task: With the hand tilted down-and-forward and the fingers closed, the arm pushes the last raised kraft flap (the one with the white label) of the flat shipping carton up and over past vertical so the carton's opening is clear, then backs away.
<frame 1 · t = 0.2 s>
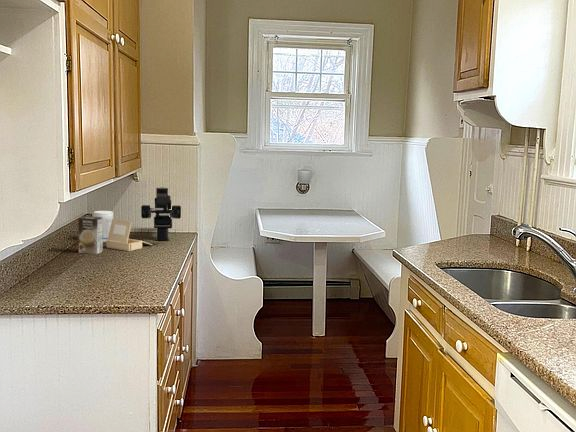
hand: (160, 215, 282), 17 cm above the counter, tool horizontal, fingers open, 9 cm apart
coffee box: (90, 252, 273), on the counter
supplement tub: (103, 241, 301), on the counter
carton: (124, 248, 285), on the counter
flap: (119, 230, 281), point 9 cm above the counter, hinge at 72.0°
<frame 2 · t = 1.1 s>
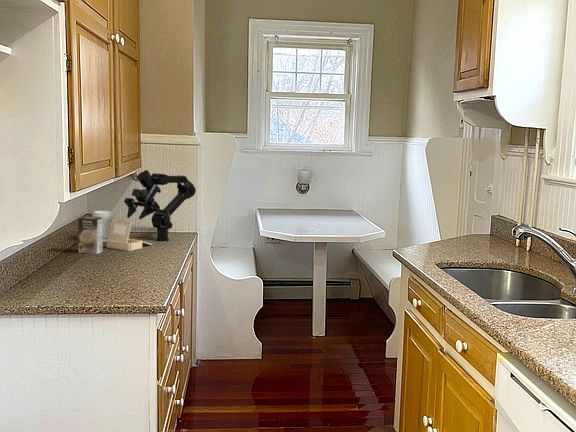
hand: (133, 218, 288), 14 cm above the counter, tool tilted 45°, fingers open, 7 cm apart
nothing on the counter moved.
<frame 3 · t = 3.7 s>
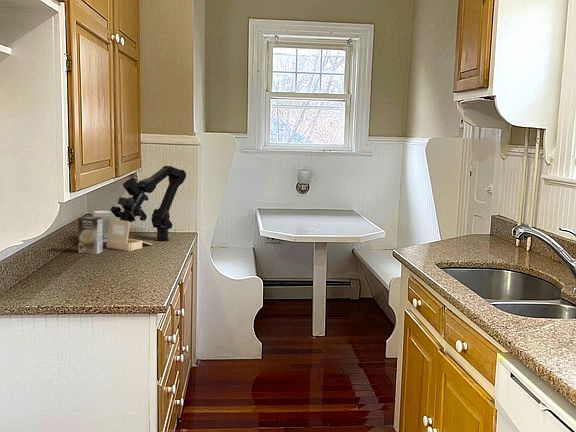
hand: (119, 227, 281), 10 cm above the counter, tool tilted 45°, fingers closed, pressing on flap
flap: (118, 230, 280), point 9 cm above the counter, hinge at 79.6°, touching gripper
everything else where it was.
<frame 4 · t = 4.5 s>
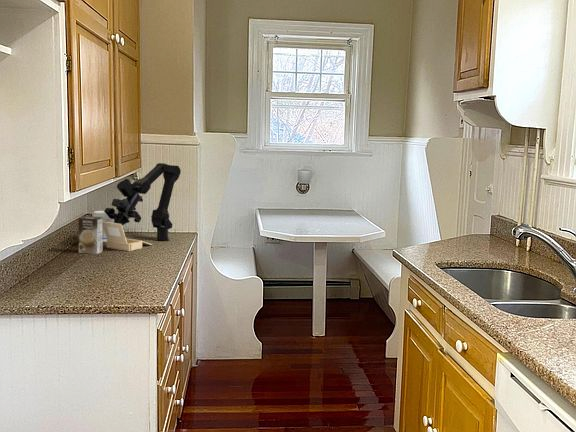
hand: (113, 229, 277), 10 cm above the counter, tool tilted 45°, fingers closed, pressing on flap
flap: (114, 232, 278), point 8 cm above the counter, hinge at 111.3°, touching gripper
everything else where it was.
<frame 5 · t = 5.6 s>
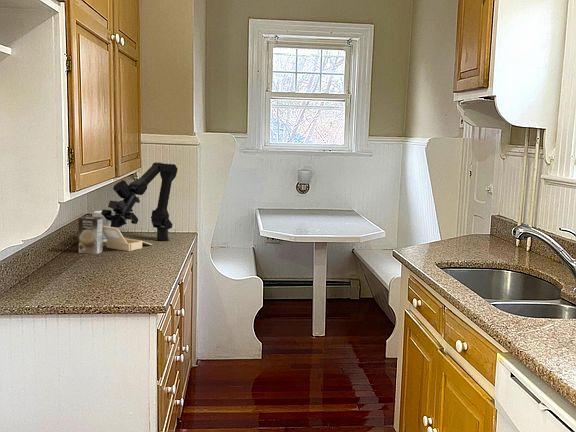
hand: (110, 231, 276), 9 cm above the counter, tool tilted 45°, fingers closed, pressing on flap
flap: (112, 234, 277), point 8 cm above the counter, hinge at 127.9°, touching gripper
everything else where it was.
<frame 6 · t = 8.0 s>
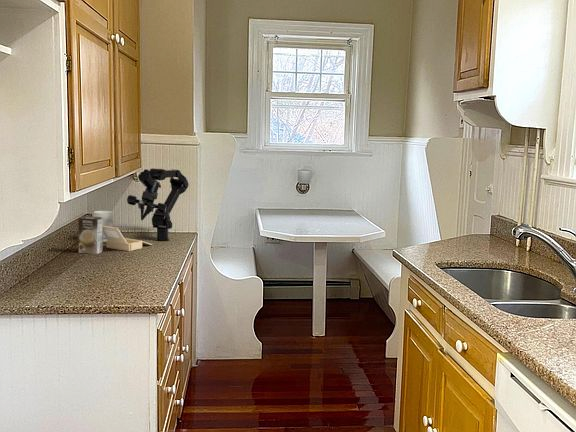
hand: (141, 219, 288), 13 cm above the counter, tool tilted 35°, fingers closed
flap: (112, 234, 277), point 8 cm above the counter, hinge at 128.0°
everything else where it was.
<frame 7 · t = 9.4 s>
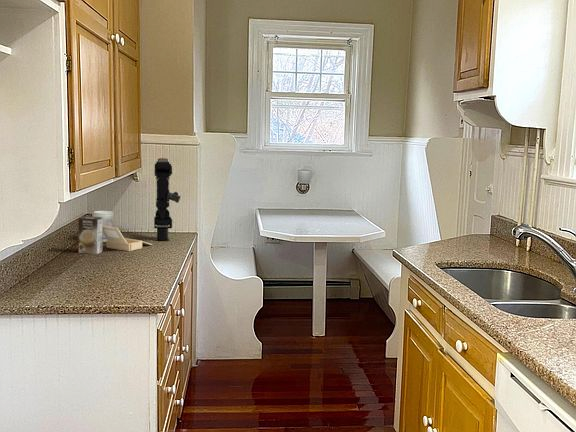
hand: (162, 219, 292), 13 cm above the counter, tool pointing down, fingers closed
nothing on the counter moved.
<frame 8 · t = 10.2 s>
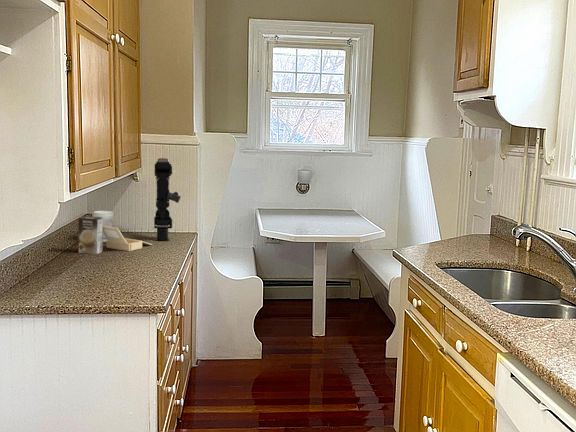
hand: (162, 219, 292), 13 cm above the counter, tool pointing down, fingers closed
nothing on the counter moved.
at the end: flap at +128° (first picture: +72°) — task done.
